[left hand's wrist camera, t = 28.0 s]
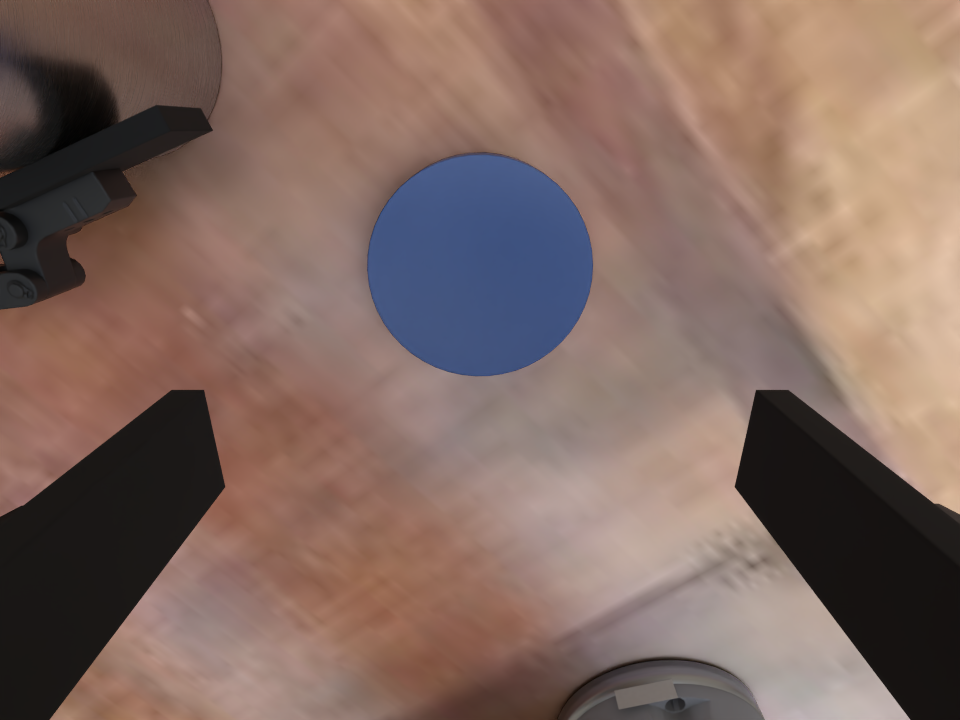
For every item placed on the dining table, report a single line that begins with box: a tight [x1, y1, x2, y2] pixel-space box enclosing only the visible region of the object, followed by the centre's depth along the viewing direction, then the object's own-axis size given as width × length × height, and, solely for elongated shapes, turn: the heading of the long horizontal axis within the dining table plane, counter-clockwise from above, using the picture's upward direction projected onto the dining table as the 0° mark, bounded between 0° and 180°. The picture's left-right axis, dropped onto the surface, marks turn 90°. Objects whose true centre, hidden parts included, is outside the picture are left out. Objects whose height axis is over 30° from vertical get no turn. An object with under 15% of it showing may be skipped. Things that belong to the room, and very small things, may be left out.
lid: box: [367, 152, 593, 376], centre depth 24 cm, size 10×10×2 cm
